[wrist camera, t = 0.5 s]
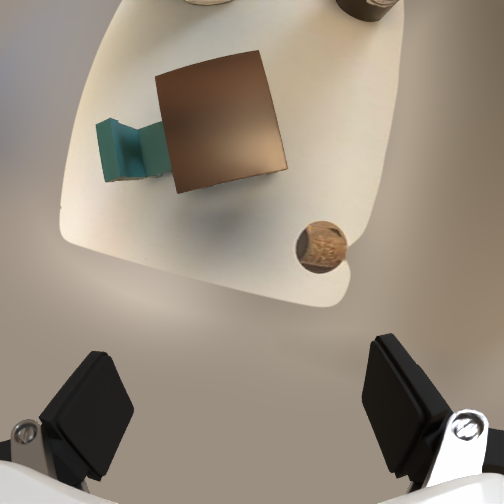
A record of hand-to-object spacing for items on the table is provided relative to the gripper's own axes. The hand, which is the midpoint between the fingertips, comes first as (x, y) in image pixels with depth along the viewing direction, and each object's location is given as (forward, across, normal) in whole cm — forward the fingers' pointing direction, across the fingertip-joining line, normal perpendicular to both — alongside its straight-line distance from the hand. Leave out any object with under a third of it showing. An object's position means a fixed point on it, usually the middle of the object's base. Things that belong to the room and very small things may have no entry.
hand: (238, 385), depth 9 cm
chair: (+29, +8, -12) cm, 32 cm away
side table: (+29, +2, -13) cm, 32 cm away
